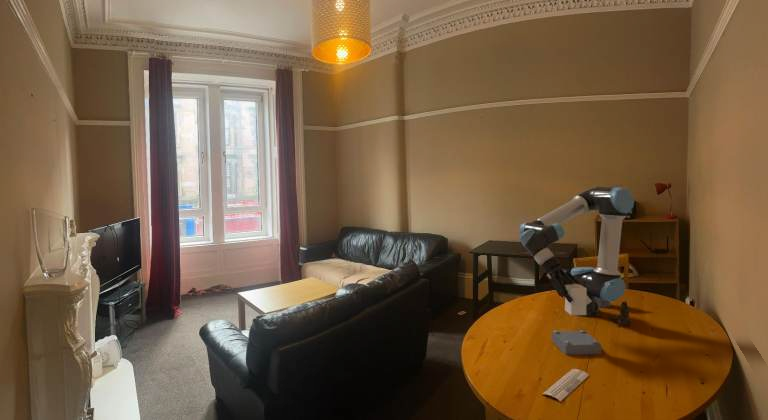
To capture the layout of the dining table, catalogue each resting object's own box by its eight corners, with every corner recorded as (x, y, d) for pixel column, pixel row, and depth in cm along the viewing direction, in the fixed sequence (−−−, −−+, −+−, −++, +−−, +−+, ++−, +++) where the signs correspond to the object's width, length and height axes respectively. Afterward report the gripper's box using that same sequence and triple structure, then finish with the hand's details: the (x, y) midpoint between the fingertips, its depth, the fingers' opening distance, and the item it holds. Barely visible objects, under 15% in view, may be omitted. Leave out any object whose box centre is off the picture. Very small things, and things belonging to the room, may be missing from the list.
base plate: (584, 339, 176) (584, 329, 175) (600, 354, 162) (601, 343, 161) (552, 340, 176) (552, 330, 176) (565, 354, 162) (565, 343, 162)
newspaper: (572, 372, 150) (572, 367, 150) (592, 378, 145) (592, 373, 145) (542, 397, 134) (542, 392, 134) (563, 405, 129) (563, 400, 129)
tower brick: (579, 310, 171) (579, 282, 170) (586, 315, 165) (586, 286, 164) (565, 310, 171) (565, 282, 170) (571, 315, 165) (571, 286, 164)
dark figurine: (629, 329, 185) (630, 303, 184) (605, 324, 192) (606, 298, 191) (638, 321, 195) (639, 296, 194) (616, 316, 203) (616, 292, 202)
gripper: (554, 262, 185) (589, 304, 174) (527, 270, 172) (564, 316, 161) (565, 252, 180) (602, 295, 169) (539, 259, 167) (577, 306, 156)
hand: (583, 305), depth 165 cm, fingers closed on tower brick, 8 cm apart
